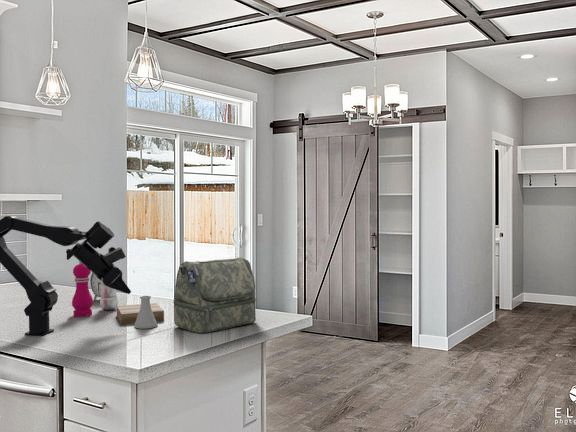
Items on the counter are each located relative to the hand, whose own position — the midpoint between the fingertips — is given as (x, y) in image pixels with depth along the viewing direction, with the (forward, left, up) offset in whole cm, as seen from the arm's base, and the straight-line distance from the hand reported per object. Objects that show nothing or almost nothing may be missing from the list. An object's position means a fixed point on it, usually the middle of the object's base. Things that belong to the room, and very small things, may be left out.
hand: (127, 290), depth 197 cm
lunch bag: (+7, -27, -12) cm, 30 cm away
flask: (+3, -5, -12) cm, 14 cm away
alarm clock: (+52, +31, -12) cm, 62 cm away
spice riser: (+16, +3, -12) cm, 20 cm away
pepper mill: (+20, +25, -12) cm, 35 cm away
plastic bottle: (+31, +20, -12) cm, 39 cm away
